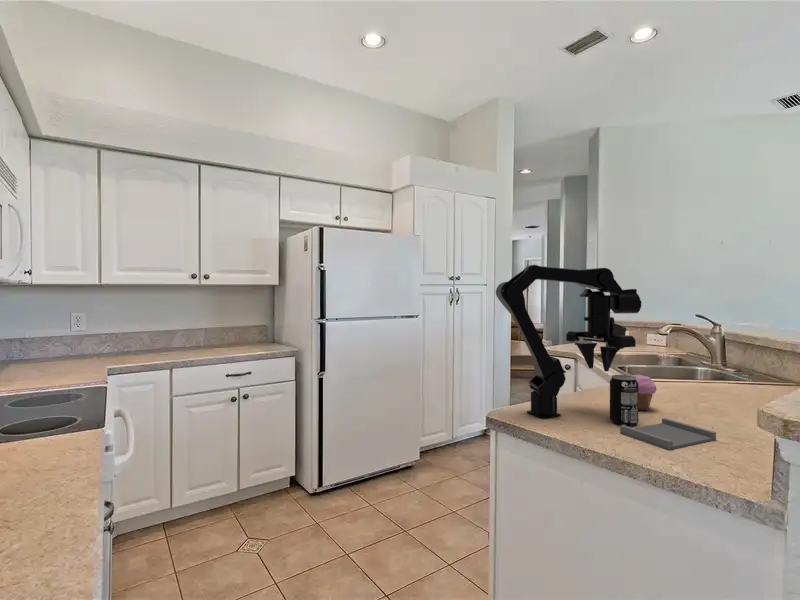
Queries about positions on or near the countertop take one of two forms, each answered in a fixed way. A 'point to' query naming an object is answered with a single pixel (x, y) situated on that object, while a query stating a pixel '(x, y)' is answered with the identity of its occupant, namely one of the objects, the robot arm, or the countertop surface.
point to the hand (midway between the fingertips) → (598, 369)
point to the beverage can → (624, 400)
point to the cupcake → (644, 391)
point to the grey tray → (670, 434)
